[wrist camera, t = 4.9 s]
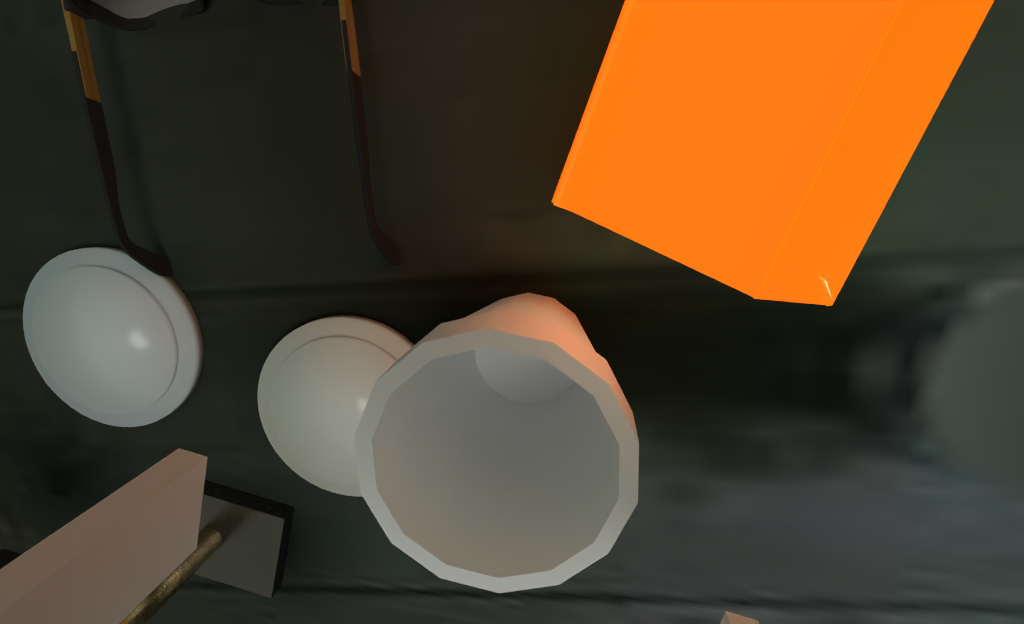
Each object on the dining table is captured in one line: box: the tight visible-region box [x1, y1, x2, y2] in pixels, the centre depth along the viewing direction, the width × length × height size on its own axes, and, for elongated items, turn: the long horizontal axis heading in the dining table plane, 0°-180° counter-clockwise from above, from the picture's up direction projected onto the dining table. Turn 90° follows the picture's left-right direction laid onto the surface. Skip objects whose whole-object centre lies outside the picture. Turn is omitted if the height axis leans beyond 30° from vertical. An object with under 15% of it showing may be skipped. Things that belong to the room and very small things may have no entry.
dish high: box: [257, 315, 414, 496], centre depth 32 cm, size 11×11×1 cm
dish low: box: [23, 246, 204, 427], centre depth 33 cm, size 11×11×1 cm
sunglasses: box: [61, 0, 399, 277], centre depth 28 cm, size 14×15×5 cm
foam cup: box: [354, 293, 639, 593], centre depth 24 cm, size 10×9×13 cm
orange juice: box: [552, 0, 994, 306], centre depth 17 cm, size 8×9×20 cm
